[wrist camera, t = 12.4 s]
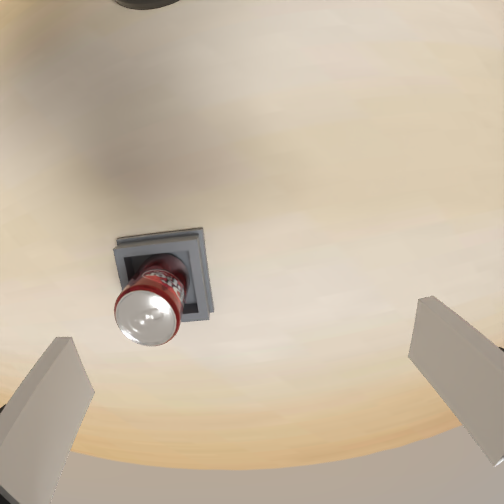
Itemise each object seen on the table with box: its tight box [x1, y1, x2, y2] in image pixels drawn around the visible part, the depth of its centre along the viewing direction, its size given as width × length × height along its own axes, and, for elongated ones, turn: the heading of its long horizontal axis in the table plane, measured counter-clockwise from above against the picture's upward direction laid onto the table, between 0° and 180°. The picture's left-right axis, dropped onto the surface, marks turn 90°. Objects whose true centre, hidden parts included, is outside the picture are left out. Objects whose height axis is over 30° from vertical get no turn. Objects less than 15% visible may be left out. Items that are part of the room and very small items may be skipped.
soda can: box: [114, 254, 190, 346], centre depth 36 cm, size 7×7×12 cm
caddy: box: [113, 228, 214, 322], centre depth 41 cm, size 12×12×4 cm
